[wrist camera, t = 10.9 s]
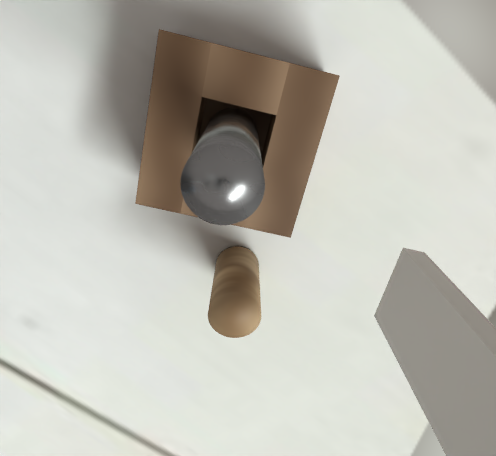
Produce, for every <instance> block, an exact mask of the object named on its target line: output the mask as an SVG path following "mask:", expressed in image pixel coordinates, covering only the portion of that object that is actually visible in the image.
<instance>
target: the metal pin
mask: <svg viewBox="0 0 496 456" xmlns="http://www.w3.org/2000/svg"><path fill="white" fill-rule="evenodd" d="M180 185H181V193H182V196H183V199H184V201H185V203H186V204H187V206H188V207H189V209H190V210H191V211H192V212H193V213H194V214H195V215H196V216H198V217H199V218H201V219H203V220H204V221H207V222H209V223H213V224H218V225H230V224H235V223H238V222H241V221H243V220H245V219H246V218H248V217H249V216H250V215H252V214H253V213H254V212H255V211H256V209H257V208H258V207H259V205H260V203H261V201H262V199H263V196H264V191H265V179H264V172H263V166H262V159H261V153H260V146H259V139H258V133H257V127H256V124H255V122H254V120H253V119H252V117H251V116H250V115H249V114H248V113H246V112H245V111H243V110H241V109H238V108H226V109H223V110H221V111H219V112H217V113H216V114H215V115H214V116H213V117H212V118H211V120H210V122H209V123H208V125H207V127H206V129H205V131H204V132H203V134H202V136H201V138H200V139H199V141H198V143H197V145H196V146H195V148H194V150H193V152H192V154H191V155H190V157H189V159H188V161H187V162H186V164H185V166H184V168H183V171H182V174H181V181H180Z"/></svg>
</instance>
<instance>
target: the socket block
mask: <svg viewBox="0 0 496 456" xmlns="http://www.w3.org/2000/svg"><path fill="white" fill-rule="evenodd" d="M338 80H339V75H335V74H331V73H327V72H323V71H319V70H315V69H311V68H308V67H304V66H300V65H296V64H292V63H288V62H284V61H280V60H276V59H273V58H269V57H265V56H261V55H257V54H253V53H249V52H245V51H242V50H238V49H234V48H230V47H226V46H222V45H218V44H214V43H210V42H207V41H203V40H199V39H195V38H191V37H187V36H183V35H179V34H175V33H172V32H168V31H164V30H160V29H159V32H158V40H157V47H156V55H155V62H154V69H153V77H152V84H151V92H150V99H149V106H148V114H147V121H146V129H145V136H144V144H143V151H142V158H141V166H140V173H139V181H138V188H137V195H136V203H135V204H139V205H144V206H149V207H153V208H158V209H162V210H167V211H171V212H176V213H181V214H185V215H190V216H194V217H198V216H196V215H195V214H194V213H193V212H192V211H191V210H190V209H189V207H188V206H187V204H186V203H185V201H184V199H183V196H182V193H181V185H180V181H181V174H182V171H183V168H184V166H185V164H186V162H187V161H188V159H189V157H190V155H191V154H192V152H193V150H194V148H195V146H196V145H197V143H198V141H199V139H200V138H201V136H202V134H203V132H204V131H205V129H206V127H207V125H208V123H209V122H210V120H211V118H212V117H213V116H214V115H215V114H216V113H217V112H219V111H221V110H223V109H226V108H238V109H241V110H243V111H245V112H246V113H248V114H249V115H250V116H251V117H252V119H253V120H254V122H255V124H256V127H257V133H258V139H259V146H260V153H261V159H262V166H263V172H264V179H265V191H264V196H263V199H262V201H261V203H260V205H259V207H258V208H257V209H256V211H255V212H254V213H253V214H252V215H250V216H249V217H248V218H246V219H245V220H243V221H241V222H238V223H235V224H231V225H236V226H240V227H245V228H249V229H254V230H258V231H263V232H268V233H272V234H277V235H281V236H286V237H290V238H291V234H292V231H293V228H294V224H295V221H296V218H297V215H298V211H299V208H300V205H301V201H302V198H303V195H304V192H305V188H306V185H307V182H308V178H309V175H310V172H311V168H312V165H313V162H314V159H315V155H316V152H317V149H318V145H319V142H320V139H321V136H322V132H323V129H324V126H325V122H326V119H327V116H328V112H329V109H330V106H331V103H332V99H333V96H334V93H335V89H336V86H337V83H338Z"/></svg>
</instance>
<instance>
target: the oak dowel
mask: <svg viewBox="0 0 496 456" xmlns="http://www.w3.org/2000/svg"><path fill="white" fill-rule="evenodd" d="M208 320H209V323H210V325H211V326H212V328H213V329H214V330H215V331H216V332H218V333H219V334H221V335H223V336H226V337H232V338H238V337H243V336H246V335H249V334H250V333H252V332H253V331H254V330H255V329H256V328H257V327H258V325H259V323H260V320H261V303H260V283H259V264H258V260H257V257H256V256H255V254H254V253H253V252H252V251H250V250H249V249H247V248H244V247H239V246H235V247H230V248H227V249H225V250H224V251H223V252H221V254H220V255H219V256H218V258H217V261H216V267H215V273H214V279H213V286H212V292H211V298H210V304H209V311H208Z"/></svg>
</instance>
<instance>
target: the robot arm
mask: <svg viewBox="0 0 496 456" xmlns="http://www.w3.org/2000/svg"><path fill="white" fill-rule="evenodd" d="M374 316H375V318H376V320H377V322H378V324H379V326H380V328H381V330H382V332H383V334H384V336H385V338H386V340H387V341H388V343H389V345H390V347H391V349H392V351H393V353H394V355H395V357H396V359H397V361H398V363H399V365H400V367H401V369H402V371H403V373H404V374H405V376H406V378H407V380H408V382H409V384H410V386H411V388H412V390H413V392H414V394H415V396H416V398H417V400H418V402H419V404H420V406H421V408H422V409H423V411H424V413H425V415H426V417H427V419H428V421H429V423H430V425H431V427H432V429H433V431H434V433H435V435H436V437H437V439H438V441H439V443H440V444H441V446H442V448H443V450H444V452H445V454H446V456H496V328H495V327H494V326H493V325H492V324H491V322H490V321H489V320H488V319H487V318H486V317H485V316H484V315H483V314H482V313H481V312H480V311H479V310H478V309H477V308H476V307H475V306H474V304H473V303H472V302H471V301H470V300H469V299H468V298H467V297H466V296H465V295H464V294H463V293H462V292H461V291H460V290H459V289H458V288H457V286H456V285H455V284H454V283H453V282H452V281H451V280H450V279H449V278H448V277H447V276H446V275H445V274H444V273H443V272H442V271H441V270H440V268H439V267H438V266H437V265H436V264H435V263H434V262H433V261H432V260H431V259H430V258H429V257H428V256H427V255H426V254H425V253H424V252H420V251H415V250H411V249H406V248H403V249H402V251H401V254H400V256H399V259H398V261H397V263H396V266H395V268H394V270H393V273H392V275H391V277H390V280H389V282H388V285H387V287H386V289H385V292H384V294H383V296H382V299H381V301H380V303H379V306H378V308H377V310H376V313H375V315H374Z"/></svg>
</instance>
